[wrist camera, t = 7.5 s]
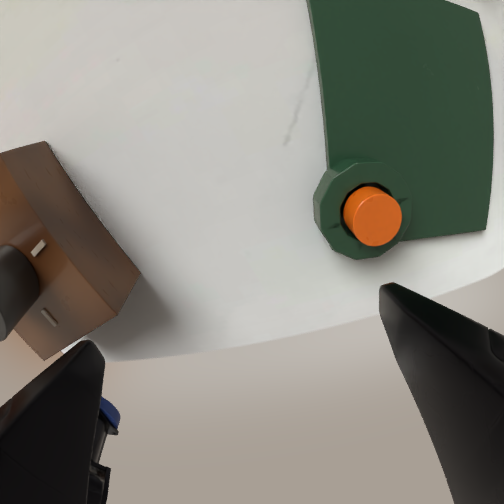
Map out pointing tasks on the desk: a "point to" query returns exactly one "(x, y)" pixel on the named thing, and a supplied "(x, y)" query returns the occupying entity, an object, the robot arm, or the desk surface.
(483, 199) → the green flat plate
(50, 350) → the panel
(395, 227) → the button
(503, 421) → the robot arm
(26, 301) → the knob
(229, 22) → the desk surface
